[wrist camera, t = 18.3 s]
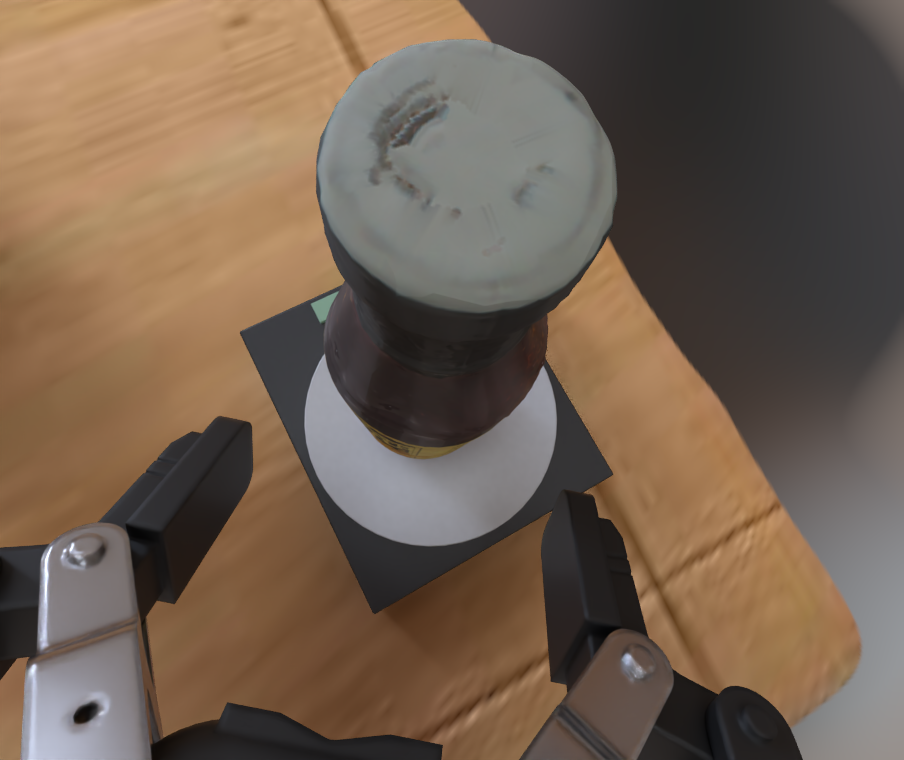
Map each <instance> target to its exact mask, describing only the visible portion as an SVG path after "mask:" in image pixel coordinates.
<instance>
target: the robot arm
mask: <svg viewBox="0 0 904 760" xmlns="http://www.w3.org/2000/svg"><path fill="white" fill-rule="evenodd" d="M252 472H253V448H252V426H251V423H250V422H246V421H242V420H237V419H232V418H227V417H223V416H218V417H217V418H215V419H214V420H213V422H212V423H211V424H210V425H209V426H208V427H207V429H206V430H205V431H204V432H203V433H197V432H190V433H188V434H186V435H185V436H183V437H181V438H179V439H177V440H176V441H174V442H172V443H171V444H170V445H169V446H168V447H167V448H166V449H165V450H164V451H163V453H162V454H161V455H160V456H159V457H158V459H157V461H154V462H153V463H152V464H151V466H150V467H149V468H148V469H147V470H146V473H145V474H144V473H143V474H142V475H141V476H140V477H139V479H138V480H137V481H136V482H135V483H134V484H133V485H132V486H131V487H130V488H129V489H128V490H127V492H126V493H125V494H124V495H123V496H122V497H121V498H120V499H119V500H118V501H117V502H116V503H115V505H114V506H113V507H112V508H111V509H110V510H109V511H108V512H107V513H106V514H105V515H104V516H103V518H102V519H101V520H100V521H98V522H97V523H91V524H86V525H82V526H79V527H76V528H74V529H71V530H69V531H67V532H65V533H64V534H62V535H61V536H59V537H58V538H56V539H55V540H54V541H53V542H52V543H51V544H46V545H34V546H19V547H4V548H0V680H1V679H2V677H3V676H4V675H5V673H6V672H7V671H8V670H9V668H10V667H11V666H12V664H13V663H14V662H15V661H16V659H17V658H23V657H30V658H29V659H28V662H27V666H26V673H25V689H24V706H23V724H22V742H21V759H20V760H441V758H442V748H443V745H440V744H435V743H430V742H425V741H420V740H415V739H410V738H405V737H400V736H395V735H382V736H372V737H362V738H352V739H343V740H330V739H327V738H325V737H323V736H322V735H320V734H318V733H316V732H314V731H312V730H311V729H309V728H307V727H305V726H303V725H302V724H300V723H298V722H296V721H294V720H292V719H291V718H289V717H287V716H285V715H283V714H282V713H278V712H273V711H268V710H263V709H258V708H253V707H248V706H243V705H238V704H233V703H228V702H227V704H226V706H225V709H224V711H223V713H222V715H221V717H220V719H219V720H211V721H206V722H202V723H198V724H194V725H192V726H189V727H186V728H183V729H181V730H179V731H176V732H174V733H172V734H170V735H168V736H166V737H163V730H162V724H161V718H160V713H159V707H158V701H157V694H156V686H155V679H154V671H153V663H152V655H151V648H150V640H149V632H148V624H147V618H146V616H147V614H148V613H149V611H150V610H151V608H152V607H153V605H154V604H155V602H156V601H162V602H167V603H172V604H175V603H176V601H177V600H178V598H179V596H180V595H181V593H182V592H183V590H184V589H185V587H186V585H187V584H188V582H189V581H190V579H191V577H192V576H193V574H194V573H195V571H196V570H197V568H198V566H199V565H200V563H201V562H202V560H203V558H204V557H205V555H206V554H207V552H208V551H209V549H210V547H211V546H212V544H213V543H214V541H215V539H216V538H217V536H218V535H219V533H220V532H221V530H222V528H223V527H224V525H225V524H226V522H227V521H228V519H229V517H230V516H231V514H232V513H233V511H234V509H235V508H236V506H237V505H238V503H239V502H240V500H241V498H242V497H243V495H244V494H245V492H246V490H247V488H248V486H249V483H250V480H251V477H252ZM541 559H542V572H543V585H544V598H545V611H546V624H547V638H548V651H549V664H550V677H551V682H555V683H560V684H565V685H567V695H566V696H565V698H564V699H563V700H562V702H561V703H560V704H559V705H558V706H557V707H556V708H555V710H554V711H553V712H552V714H551V715H550V717H549V718H548V719H547V721H546V722H545V724H544V725H543V726H542V728H541V729H540V731H539V732H538V734H537V735H536V736H535V738H534V739H533V741H532V742H531V743H530V745H529V746H528V748H527V749H526V751H525V752H524V753H523V755H522V756H521V758H520V759H519V760H803V759H802V756H801V754H800V751H799V749H798V746H797V743H796V741H795V738H794V736H793V734H792V731H791V729H790V727H789V726H788V724H787V722H786V721H785V719H784V718H783V716H782V715H781V714H780V713H779V711H778V710H777V709H776V708H775V707H774V706H773V705H772V704H771V703H770V702H769V701H767V700H766V699H765V698H764V697H762V696H761V695H759V694H758V693H756V692H754V691H752V690H750V689H747V688H744V687H740V686H730V687H727V688H725V689H723V690H722V691H721V693H720V694H719V695H718V694H716V693H714V692H712V691H710V690H708V689H706V688H705V687H703V686H701V685H699V684H697V683H695V682H693V681H691V680H689V679H687V678H686V677H684V676H682V675H680V674H679V673H677V672H676V671H675V670H673V669H672V667H671V665H670V662H669V660H668V659H667V657H666V655H665V654H664V652H663V651H662V650H661V649H660V648H659V646H658V645H657V644H656V643H654V642H653V641H652V640H651V639H649V637H648V634H647V631H646V627H645V623H644V619H643V615H642V611H641V608H640V604H639V600H638V596H637V592H636V588H635V584H634V580H633V576H631V569H630V565H629V561H628V560H627V553H626V549H625V545H624V542H623V538H622V536H621V535H620V533H619V532H618V530H617V529H616V528H615V526H614V525H613V523H612V522H611V520H608V519H604V518H599V517H598V512H597V507H596V503H595V499H594V497H593V495H590V494H585V493H580V492H575V491H571V490H566V489H563V490H562V491H561V492H560V494H559V497H558V499H557V501H556V504H555V506H554V508H553V511H552V513H551V516H550V518H549V520H548V523H547V525H546V527H545V530H544V533H543V538H542V545H541Z"/></svg>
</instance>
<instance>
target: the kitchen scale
mask: <svg viewBox="0 0 904 760" xmlns="http://www.w3.org/2000/svg"><path fill="white" fill-rule="evenodd" d="M341 287H342V285H341V286H339V287H337V288H335V289H332V290H330V291H328V292H326V293H324V294H321V295H319V296H317V297H315V298H313V299H310V300H308V301H306V302H304V303H302V304H299V305H297V306H295V307H293V308H291V309H289V310H286V311H284V312H282V313H280V314H278V315H275V316H273V317H271V318H269V319H267V320H264V321H262V322H260V323H258V324H256V325H253V326H251V327H249V328H247V329H245V330H242V331H241V332H240V334H241V336H242V338H243V341H244V343H245V345H246V347H247V349H248V351H249V353H250V355H251V357H252V359H253V362H254V364H255V366H256V368H257V370H258V372H259V374H260V376H261V378H262V381H263V383H264V385H265V387H266V389H267V391H268V393H269V395H270V397H271V399H272V402H273V404H274V406H275V408H276V410H277V412H278V414H279V416H280V418H281V420H282V423H283V425H284V427H285V429H286V431H287V433H288V435H289V437H290V439H291V442H292V444H293V446H294V448H295V450H296V452H297V454H298V456H299V458H300V460H301V463H302V465H303V467H304V469H305V471H306V473H307V475H308V477H309V479H310V481H311V484H312V486H313V488H314V490H315V492H316V494H317V496H318V498H319V500H320V503H321V505H322V507H323V509H324V511H325V513H326V515H327V517H328V519H329V521H330V524H331V526H332V528H333V530H334V532H335V534H336V536H337V538H338V540H339V542H340V545H341V547H342V549H343V551H344V553H345V555H346V557H347V559H348V561H349V564H350V566H351V568H352V570H353V572H354V574H355V576H356V578H357V580H358V582H359V585H360V587H361V589H362V591H363V593H364V595H365V597H366V599H367V601H368V603H369V606H370V608H371V610H372V612H373V613H374V614H376V613H378V612H379V611H381V610H383V609H384V608H386V607H388V606H390V605H391V604H393V603H395V602H396V601H398V600H400V599H402V598H403V597H405V596H407V595H408V594H410V593H412V592H414V591H415V590H417V589H419V588H420V587H422V586H424V585H426V584H427V583H429V582H431V581H432V580H434V579H436V578H438V577H439V576H441V575H443V574H444V573H446V572H448V571H450V570H451V569H453V568H455V567H456V566H458V565H460V564H461V563H463V562H465V561H467V560H468V559H470V558H472V557H473V556H475V555H477V554H479V553H480V552H482V551H484V550H485V549H487V548H489V547H491V546H492V545H494V544H496V543H497V542H499V541H501V540H503V539H504V538H506V537H508V536H509V535H511V534H513V533H515V532H516V531H518V530H520V529H521V528H523V527H525V526H527V525H528V524H530V523H532V522H533V521H535V520H537V519H539V518H540V517H542V516H544V515H545V514H547V513H549V512H551V511H552V510H553V508H554V506H555V504H556V501H557V499H558V497H559V494H560V492H561V491H562V490H563V489H566V490H571V491H575V492H580V493H583V492H585V491H586V490H588V489H590V488H592V487H593V486H595V485H597V484H598V483H600V482H602V481H604V480H605V479H607V478H609V477H610V476H612V475H613V473H612V471H611V469H610V468H609V466H608V464H607V462H606V461H605V459H604V457H603V456H602V454H601V452H600V451H599V449H598V447H597V445H596V444H595V442H594V440H593V439H592V437H591V435H590V434H589V432H588V430H587V428H586V427H585V425H584V423H583V422H582V420H581V418H580V417H579V415H578V413H577V411H576V410H575V408H574V406H573V405H572V403H571V401H570V400H569V398H568V396H567V394H566V393H565V391H564V389H563V388H562V386H561V384H560V383H559V381H558V379H557V377H556V376H555V374H554V372H553V371H552V369H551V367H550V366H549V364H548V362H547V360H546V361H545V364H544V365H543V367H542V368H541V370H540V373H539V375H538V377H537V379H536V381H535V382H534V384H533V387H532V388H531V390H530V391H529V392H528V393H527V395H526V397H525V399H524V400H523V401H521V403H520V404H519V405H518V406H517V407H516V408H515V409H514V410H513V412H512V413H511V414H510V416H508V417H505V418H504V419H503V420H502V421H500V422H499V423H498V424H497V425H496V426H495V427H494V428H492V429H491V430H490V431H488V432H487V433H485V434H484V435H482V436H480V437H479V438H477V439H475V440H473V441H471V442H469V443H467V444H465V445H464V446H462V447H460V448H459V449H457V450H455V451H453V452H451V453H449V454H447V455H444V456H440V457H436V458H431V459H413V458H409V457H405V456H402V455H399V454H397V453H395V452H392V451H391V450H389V449H387V448H386V447H384V446H383V445H382V444H380V443H379V442H378V441H377V440H376V439H375V438H374V437H373V435H372V434H371V433H370V432H369V431H368V429H367V428H366V427H365V426H364V424H363V423H362V422H361V421H360V420H359V419H358V417H357V416H356V415H355V414H354V412H353V411H352V410H351V409H350V407H349V406H348V405H347V403H346V402H345V401H344V399H343V398H342V397H341V395H340V394H339V392H338V390H337V388H336V387H335V385H334V383H333V381H332V378H331V376H330V373H329V370H328V368H327V363H326V359H325V352H324V329H325V323H326V318H327V315H328V312H329V309H330V307H331V304H332V303H333V301H334V299H335V297H336V296H337V294H338V292H339V290H340V289H341Z"/></svg>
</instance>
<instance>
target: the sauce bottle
mask: <svg viewBox="0 0 904 760" xmlns="http://www.w3.org/2000/svg"><path fill="white" fill-rule="evenodd" d="M316 194H317V198H318V202H319V206H320V210H321V214H322V219H323V223H324V230H325V235H326V237H327V240H328V243H329V247H330V249H331V252H332V255H333V258H334V261H335V263H336V265H337V267H338V269H339V272H340V273H341V275H342V276H343V278H344V279H345V281H344V283H343V285H342V287H341V289H340V290H339V292H338V294H337V296H336V297H335V299H334V301H333V303H332V304H331V307H330V309H329V312H328V315H327V318H326V323H325V329H324V352H325V359H326V363H327V368H328V370H329V373H330V376H331V378H332V381H333V383H334V385H335V387H336V388H337V390H338V392H339V394H340V395H341V397H342V398H343V399H344V401H345V402H346V403H347V405H348V406H349V407H350V409H351V410H352V411H353V412H354V414H355V415H356V416H357V417H358V419H359V420H360V421H361V422H362V423H363V424H364V426H365V427H366V428H367V429H368V431H369V432H370V433H371V434H372V435H373V437H374V438H375V439H376V440H377V441H378V442H379V443H380V444H382V445H383V446H384V447H386V448H387V449H389V450H391V451H392V452H395V453H397V454H399V455H402V456H405V457H409V458H413V459H431V458H436V457H440V456H444V455H447V454H449V453H451V452H453V451H455V450H457V449H459V448H460V447H462V446H464V445H465V444H467V443H469V442H471V441H473V440H475V439H477V438H479V437H480V436H482V435H484V434H485V433H487V432H488V431H490V430H491V429H492V428H494V427H495V426H496V425H497V424H498V423H499V422H500V421H502V420H503V419H504V418H505V417H508V416H510V414H511V413H512V412H513V410H514V409H515V408H516V407H517V406H518V405H519V404H520V403H521V401H523V400H524V399H525V397H526V395H527V393H528V392H529V391H530V390H531V388H532V387H533V384H534V382H535V381H536V379H537V377H538V375H539V373H540V370H541V368H542V367H543V365H544V364H545V361H546V358H545V354H546V349H547V337H548V336H547V335H548V325H547V319H548V318H547V313H549V312H550V311H552V310H553V309H555V308H556V307H557V306H558V304H559V303H560V302H561V301H562V300H563V299H565V298H566V297H567V296H569V294H570V292H571V291H572V289H573V288H574V287H575V285H576V284H577V283H578V282H579V281H580V280H581V278H582V277H583V275H584V273H585V272H586V270H587V269H588V268H589V266H590V265H591V263H592V262H593V260H594V259H595V257H596V255H597V254H598V252H599V251H600V249H601V248H602V246H603V245H604V243H605V241H606V239H607V237H608V235H609V233H610V231H611V229H612V227H613V212H614V208H615V204H616V200H617V176H616V165H615V157H614V153H613V150H612V147H611V144H610V142H609V140H608V138H607V136H606V134H605V132H604V130H603V128H602V127H601V125H600V124H599V122H598V121H597V119H596V118H595V116H594V114H593V112H592V110H591V108H590V107H589V105H588V103H587V101H586V100H585V98H584V96H583V95H582V94H581V93H580V92H579V91H578V89H577V88H575V87H574V86H573V85H572V84H571V83H570V82H569V81H568V80H567V79H566V78H564V77H563V76H562V75H561V74H559V73H558V72H557V71H556V70H554V69H553V68H551V67H550V66H548V65H547V64H545V63H544V62H542V61H540V60H538V59H536V58H533V57H529V56H525V55H522V54H517V53H515V52H513V51H511V50H509V49H508V48H506V47H503V46H500V45H497V44H493V43H490V42H487V41H481V40H475V39H463V40H442V41H434V42H427V43H422V44H417V45H411V46H408V47H406V48H404V49H402V50H400V51H398V52H396V53H394V54H392V55H390V56H388V57H386V58H384V59H382V60H380V61H378V62H376V63H374V65H373V66H372V67H371V68H369V69H367V70H365V71H363V72H361V73H360V74H359V76H358V77H357V78H356V79H355V80H354V81H353V82H352V84H351V85H350V86H349V88H348V89H347V91H346V93H345V94H344V96H343V97H342V98H341V99H340V101H339V102H338V103H337V105H336V107H335V109H334V111H333V113H332V115H331V117H330V119H329V121H328V123H327V125H326V127H325V129H324V131H323V133H322V135H321V138H320V144H319V149H318V155H317V175H316Z"/></svg>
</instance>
